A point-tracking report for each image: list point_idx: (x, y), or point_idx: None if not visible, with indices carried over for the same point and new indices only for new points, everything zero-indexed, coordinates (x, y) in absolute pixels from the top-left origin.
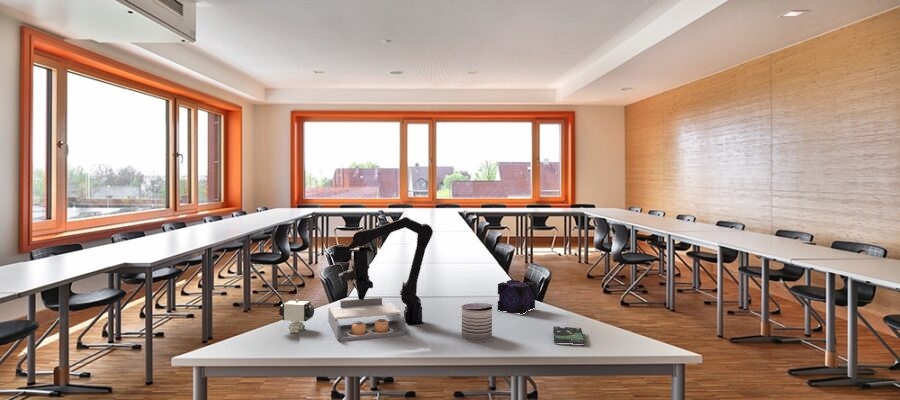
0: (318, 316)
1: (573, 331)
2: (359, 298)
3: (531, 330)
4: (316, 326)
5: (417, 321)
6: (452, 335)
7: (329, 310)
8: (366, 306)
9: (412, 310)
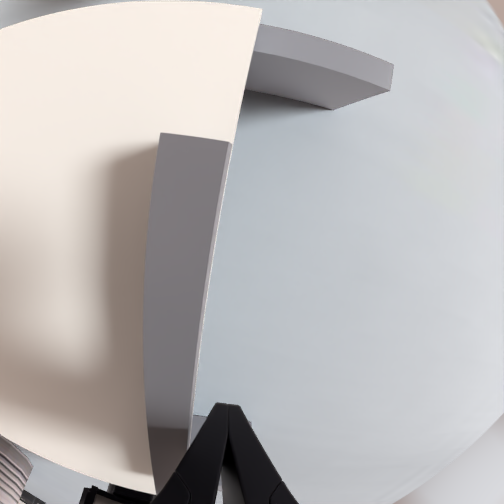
0: (498, 130)
1: (21, 499)
2: (195, 438)
3: (51, 500)
4: (311, 9)
5: None
6: None
7: (289, 31)
8: (137, 402)
9: (108, 489)
